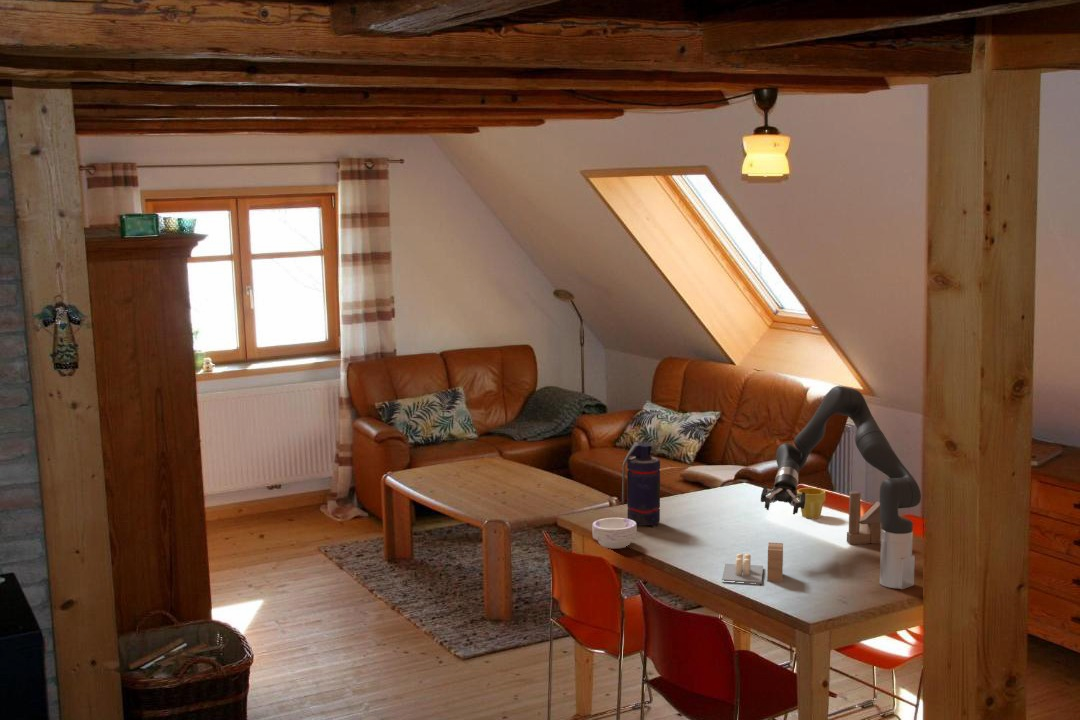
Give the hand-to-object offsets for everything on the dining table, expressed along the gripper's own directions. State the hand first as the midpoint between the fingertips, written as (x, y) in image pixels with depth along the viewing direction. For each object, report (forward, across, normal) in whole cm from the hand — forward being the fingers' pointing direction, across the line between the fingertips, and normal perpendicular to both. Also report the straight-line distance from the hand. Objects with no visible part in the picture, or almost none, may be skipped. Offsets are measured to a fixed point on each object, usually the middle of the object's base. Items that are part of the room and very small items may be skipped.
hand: (780, 510), depth 376 cm
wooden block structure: (-22, +28, +24) cm, 42 cm away
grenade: (-24, -50, +33) cm, 65 cm away
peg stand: (+22, -8, +12) cm, 26 cm away
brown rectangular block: (+21, +2, +11) cm, 24 cm away
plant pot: (-49, +9, +36) cm, 61 cm away
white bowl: (+3, -54, +24) cm, 59 cm away
